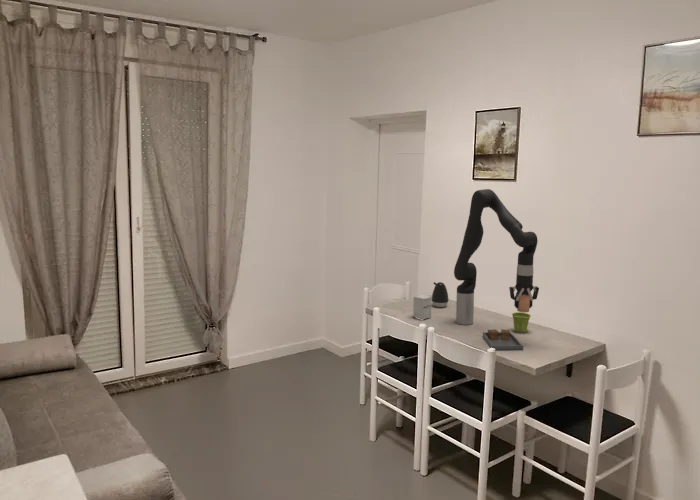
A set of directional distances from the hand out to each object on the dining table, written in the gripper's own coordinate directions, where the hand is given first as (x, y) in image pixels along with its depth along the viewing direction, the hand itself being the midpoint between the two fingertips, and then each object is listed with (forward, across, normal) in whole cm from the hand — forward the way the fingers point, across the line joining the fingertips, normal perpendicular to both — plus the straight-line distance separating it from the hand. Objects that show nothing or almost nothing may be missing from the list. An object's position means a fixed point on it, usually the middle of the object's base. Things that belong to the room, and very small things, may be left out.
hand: (523, 307), depth 254 cm
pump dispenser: (+18, +27, -67) cm, 75 cm away
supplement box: (+18, +42, -43) cm, 62 cm away
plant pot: (+18, -6, -17) cm, 25 cm away
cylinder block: (+2, 0, 0) cm, 2 cm away
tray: (+17, +10, +1) cm, 20 cm away
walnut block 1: (+17, +13, -4) cm, 21 cm away
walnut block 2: (+17, +7, -4) cm, 18 cm away
